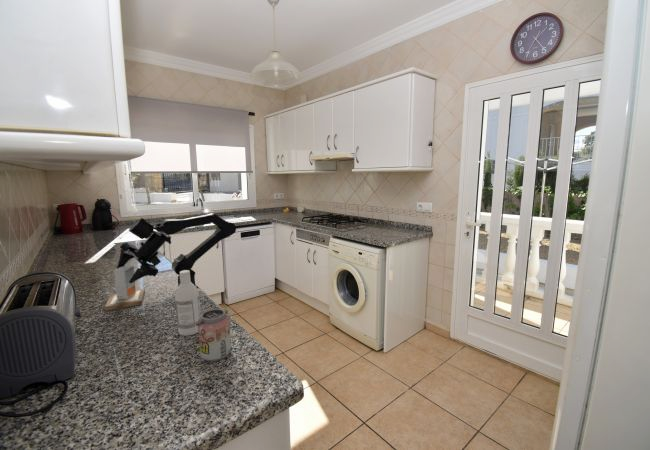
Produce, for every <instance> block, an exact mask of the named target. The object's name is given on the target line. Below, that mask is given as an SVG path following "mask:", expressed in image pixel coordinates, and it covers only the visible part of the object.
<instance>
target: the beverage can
mask: <svg viewBox="0 0 650 450" xmlns="http://www.w3.org/2000/svg"><path fill="white" fill-rule="evenodd" d="M228 312H229V311H228V309H226V308H225V309H222V308H212V309H207V310H205V311H204V312H202V313H201V315H200V319H198V321H197V322H196V323H195V325H196V326H198V333H197V334H198V342H199V350H200V352H199V353H200V357H201V359H202V360H205V361H206V362H219V361H221V360H222V359H224V358H226V357H227V356H228V355H229V354H230V353H231V351H232V339H231V327H230V319H229V317H228V316H227V314H228Z"/></svg>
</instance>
